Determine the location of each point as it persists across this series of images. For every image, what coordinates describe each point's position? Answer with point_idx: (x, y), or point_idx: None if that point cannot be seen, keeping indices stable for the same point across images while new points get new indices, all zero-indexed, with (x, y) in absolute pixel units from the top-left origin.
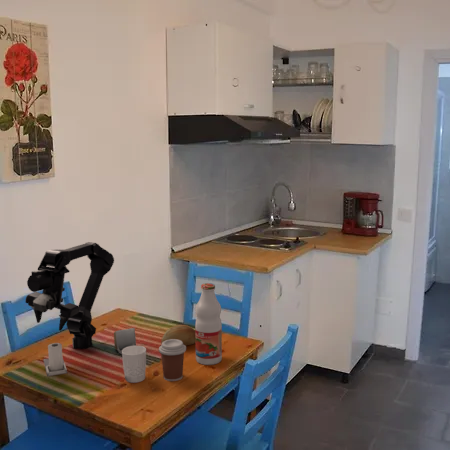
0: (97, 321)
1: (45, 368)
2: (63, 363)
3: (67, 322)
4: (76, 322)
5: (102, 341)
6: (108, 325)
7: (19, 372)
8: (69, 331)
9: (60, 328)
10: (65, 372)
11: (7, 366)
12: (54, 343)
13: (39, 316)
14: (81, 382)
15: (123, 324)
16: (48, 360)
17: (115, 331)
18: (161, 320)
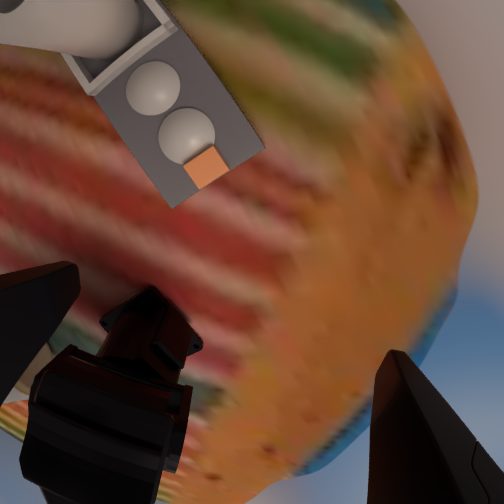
0: (245, 486)
1: (182, 30)
2: (89, 85)
3: (159, 434)
4: (70, 416)
5: None
6: (196, 473)
7: (340, 22)
8: (189, 395)
9: (38, 266)
10: None
11: (437, 95)
12: (27, 16)
13: (394, 435)
14: None
15: None
16: (222, 136)
17: (17, 389)
18: None
